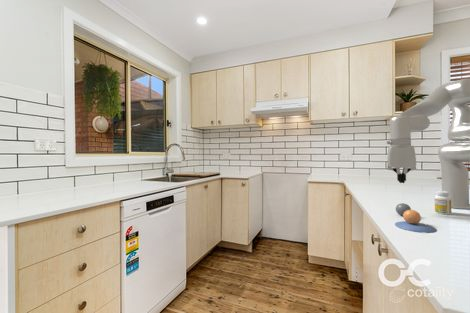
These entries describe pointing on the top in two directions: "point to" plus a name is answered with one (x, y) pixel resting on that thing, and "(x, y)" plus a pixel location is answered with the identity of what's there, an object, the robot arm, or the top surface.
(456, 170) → the robot arm
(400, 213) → the grey ball
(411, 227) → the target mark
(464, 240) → the top surface
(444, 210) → the supplement bottle
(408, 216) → the object ball
